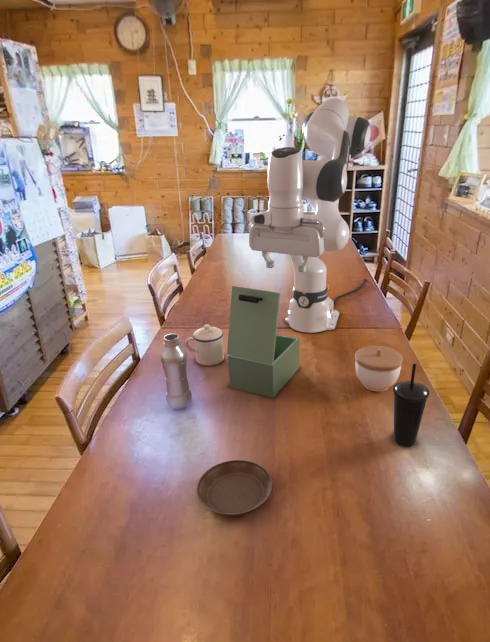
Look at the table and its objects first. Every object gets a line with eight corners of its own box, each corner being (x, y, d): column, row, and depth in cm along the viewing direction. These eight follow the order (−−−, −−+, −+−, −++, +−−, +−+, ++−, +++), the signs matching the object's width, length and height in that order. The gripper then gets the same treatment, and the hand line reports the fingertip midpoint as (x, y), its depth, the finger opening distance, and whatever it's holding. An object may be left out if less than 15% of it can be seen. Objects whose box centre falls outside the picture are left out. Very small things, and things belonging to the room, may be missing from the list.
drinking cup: (422, 433, 107) (433, 358, 98) (420, 454, 100) (432, 376, 92) (389, 427, 109) (397, 353, 100) (385, 446, 103) (394, 370, 94)
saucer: (204, 468, 97) (203, 458, 96) (273, 469, 97) (273, 459, 96) (191, 524, 84) (189, 513, 83) (270, 525, 83) (270, 514, 82)
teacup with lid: (227, 353, 145) (225, 319, 140) (221, 367, 137) (218, 332, 132) (191, 351, 146) (187, 318, 141) (182, 365, 138) (178, 330, 133)
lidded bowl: (344, 385, 126) (346, 350, 122) (369, 368, 135) (371, 335, 130) (384, 402, 118) (388, 365, 114) (407, 383, 127) (412, 348, 122)
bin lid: (233, 285, 119) (224, 286, 115) (280, 292, 113) (272, 294, 109) (228, 354, 123) (219, 357, 119) (273, 364, 117) (265, 367, 113)
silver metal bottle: (197, 401, 120) (190, 333, 112) (182, 415, 115) (173, 344, 106) (177, 396, 123) (168, 329, 114) (162, 409, 117) (151, 340, 109)
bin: (258, 359, 141) (257, 330, 137) (299, 368, 136) (299, 338, 131) (229, 386, 127) (227, 355, 122) (273, 397, 121) (272, 366, 117)
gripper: (328, 217, 114) (326, 270, 119) (256, 212, 122) (258, 262, 128) (319, 222, 108) (318, 277, 114) (245, 216, 116) (247, 268, 122)
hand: (286, 269), depth 121 cm, fingers open, 8 cm apart
